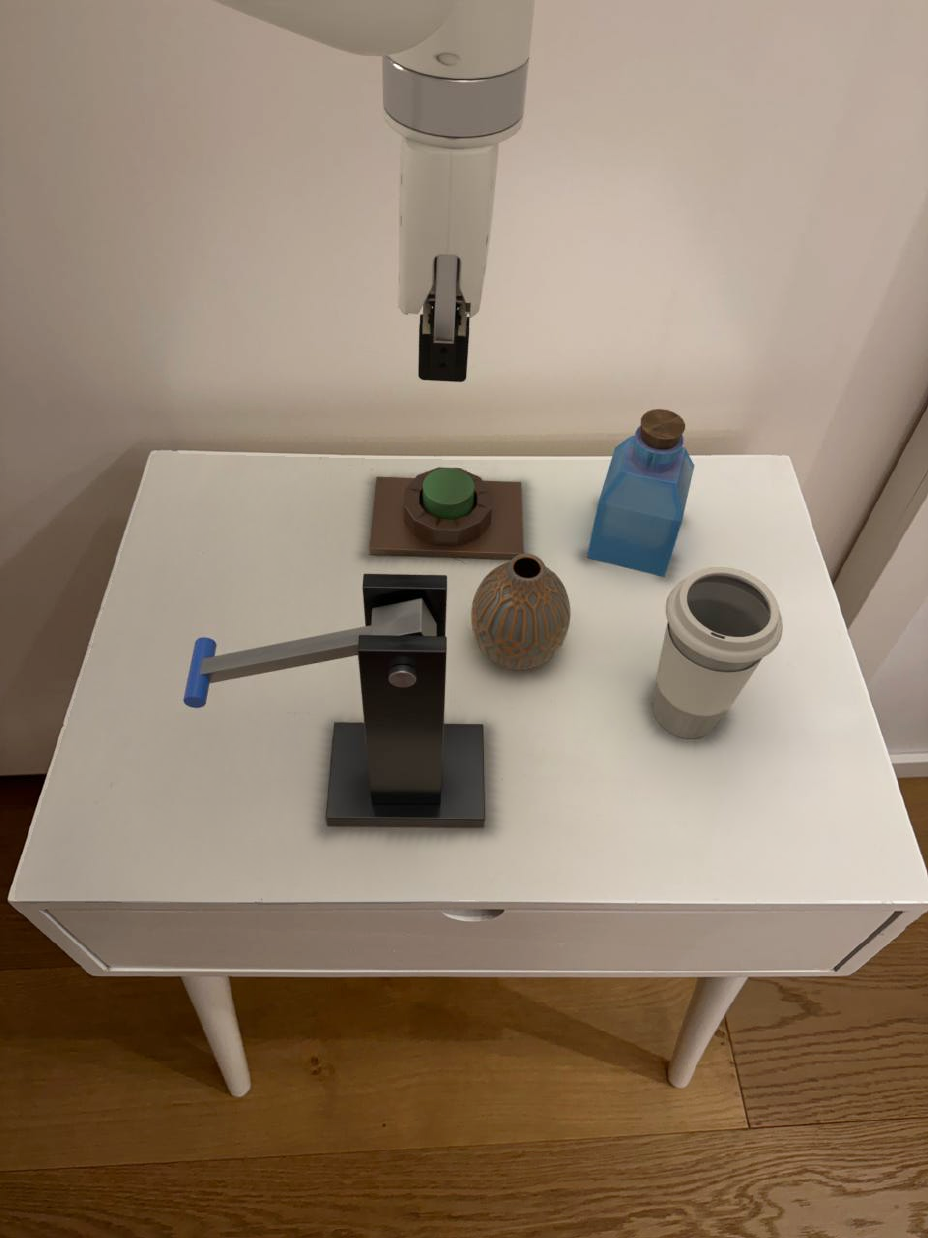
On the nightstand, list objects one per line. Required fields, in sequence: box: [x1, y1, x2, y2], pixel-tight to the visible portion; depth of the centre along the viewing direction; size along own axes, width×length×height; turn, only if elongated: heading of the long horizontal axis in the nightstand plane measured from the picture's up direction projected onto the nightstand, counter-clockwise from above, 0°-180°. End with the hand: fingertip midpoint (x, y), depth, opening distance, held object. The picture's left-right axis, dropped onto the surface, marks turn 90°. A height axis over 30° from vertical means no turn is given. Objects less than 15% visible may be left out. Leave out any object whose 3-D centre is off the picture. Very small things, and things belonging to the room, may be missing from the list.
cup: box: [652, 566, 784, 739], centre depth 62 cm, size 7×7×12 cm
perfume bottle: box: [586, 408, 695, 578], centre depth 72 cm, size 6×6×12 cm
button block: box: [368, 466, 525, 560], centre depth 76 cm, size 12×8×2 cm, turn 89°
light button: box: [423, 467, 474, 519], centre depth 74 cm, size 4×4×2 cm
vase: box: [470, 553, 572, 670], centre depth 66 cm, size 7×7×9 cm
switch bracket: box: [325, 573, 486, 828], centre depth 56 cm, size 10×7×18 cm
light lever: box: [182, 598, 437, 709], centre depth 51 cm, size 14×4×2 cm, turn 91°
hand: (442, 373), depth 64 cm, fingers closed
